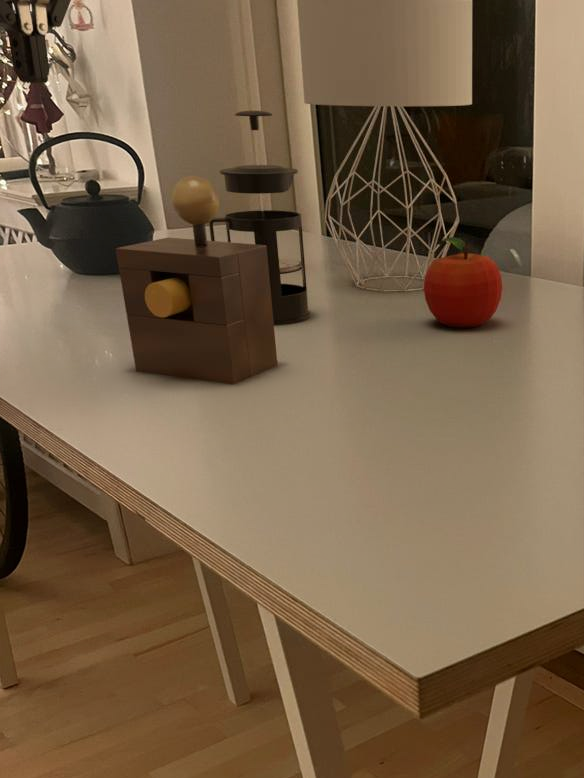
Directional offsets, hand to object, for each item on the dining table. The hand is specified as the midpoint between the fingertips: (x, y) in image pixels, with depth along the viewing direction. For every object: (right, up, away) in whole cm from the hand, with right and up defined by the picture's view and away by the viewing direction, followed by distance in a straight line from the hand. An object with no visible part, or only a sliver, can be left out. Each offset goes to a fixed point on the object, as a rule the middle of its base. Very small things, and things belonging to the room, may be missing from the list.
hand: (33, 82), depth 90 cm
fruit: (+39, -12, +32) cm, 52 cm away
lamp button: (+11, -19, +6) cm, 23 cm away
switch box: (+12, -23, +13) cm, 29 cm away
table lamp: (+28, +1, +54) cm, 61 cm away
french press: (+14, -10, +34) cm, 39 cm away
